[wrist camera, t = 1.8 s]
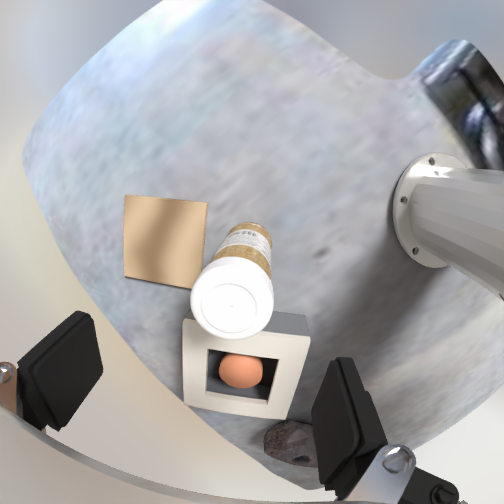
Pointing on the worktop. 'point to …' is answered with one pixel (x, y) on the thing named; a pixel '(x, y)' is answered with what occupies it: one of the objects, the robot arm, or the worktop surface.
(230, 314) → the sprinkles bottle
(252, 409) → the grey square open box
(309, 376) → the worktop surface
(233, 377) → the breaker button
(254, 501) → the robot arm
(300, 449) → the perforated stone tool
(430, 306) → the worktop surface
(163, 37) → the worktop surface
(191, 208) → the coaster
